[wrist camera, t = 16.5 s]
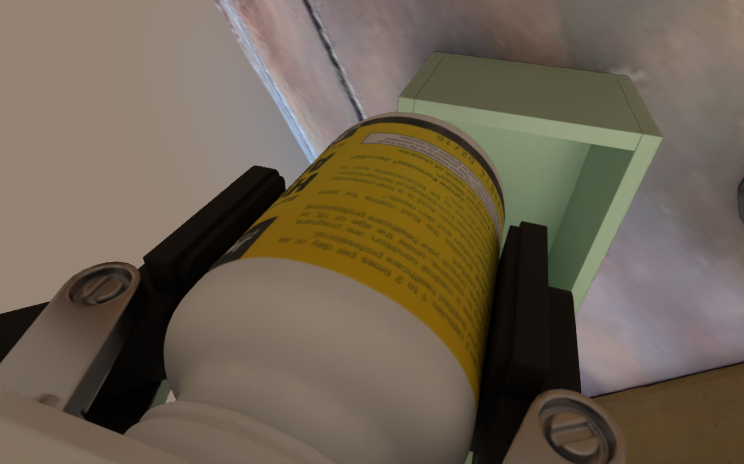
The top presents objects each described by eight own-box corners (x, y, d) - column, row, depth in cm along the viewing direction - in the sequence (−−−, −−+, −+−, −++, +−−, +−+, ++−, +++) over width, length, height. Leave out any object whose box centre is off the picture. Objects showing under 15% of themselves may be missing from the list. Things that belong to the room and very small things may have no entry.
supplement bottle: (350, 71, 11) (-80, 403, 3) (547, 159, 11) (561, 738, 3) (307, 224, 14) (46, 560, 7) (454, 294, 14) (354, 726, 6)
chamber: (433, 51, 30) (398, 96, 23) (629, 76, 27) (663, 137, 20) (411, 229, 40) (381, 303, 32) (555, 261, 37) (559, 350, 29)
